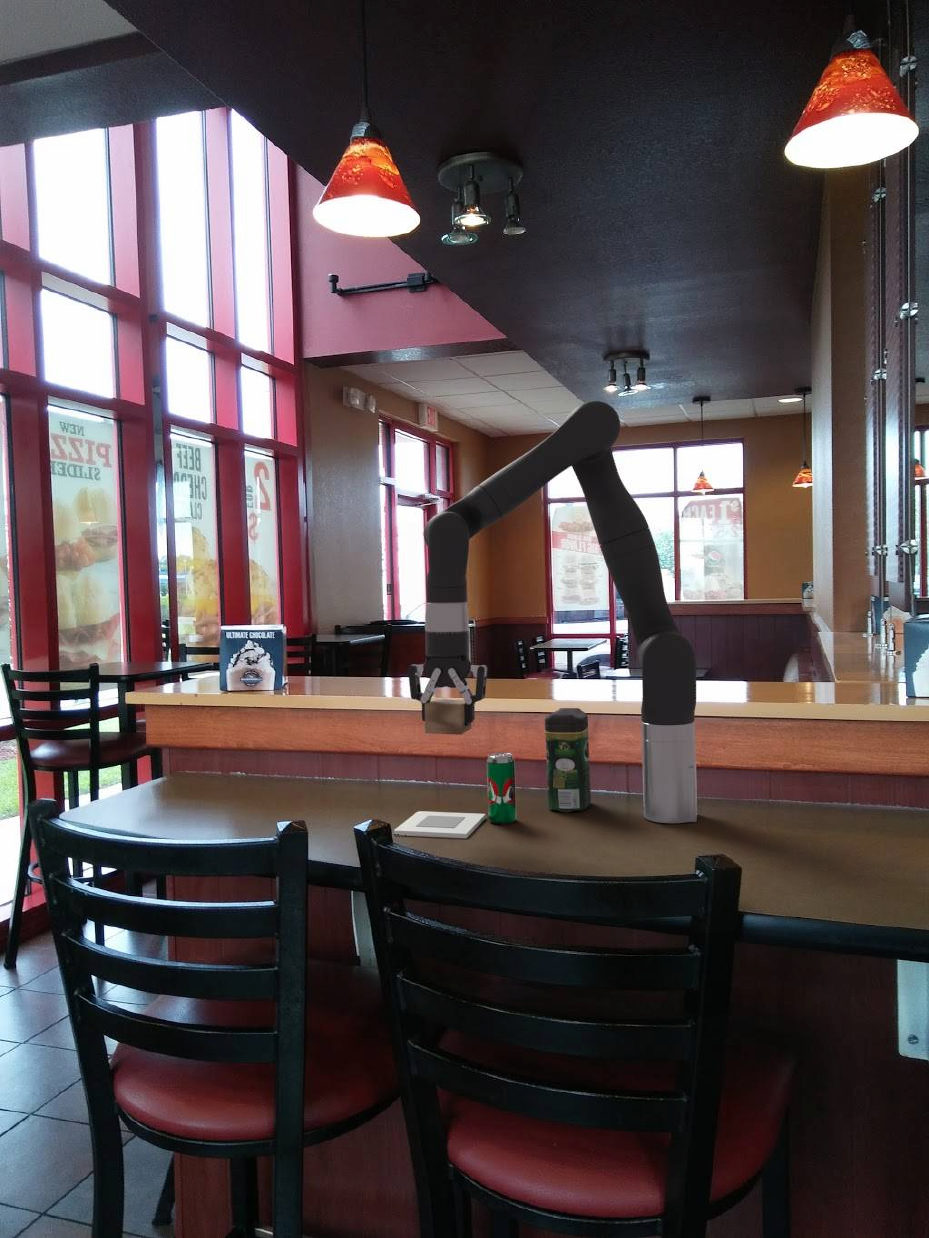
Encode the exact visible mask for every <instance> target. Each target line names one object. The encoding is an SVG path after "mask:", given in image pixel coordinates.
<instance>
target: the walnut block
mask: <svg viewBox="0 0 929 1238" xmlns="http://www.w3.org/2000/svg"><path fill="white" fill-rule="evenodd" d="M465 704H466V703H465V701H464V699H440V698H439V699H437V698H436V699H433V700H432V701H431V702H429V703H426V704H425V721H424V734H436V735H459V736H460V735H463V734H465V733H466V732H469V730H472V724H471V725H470V726H465V714H464V705H465Z"/></svg>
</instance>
